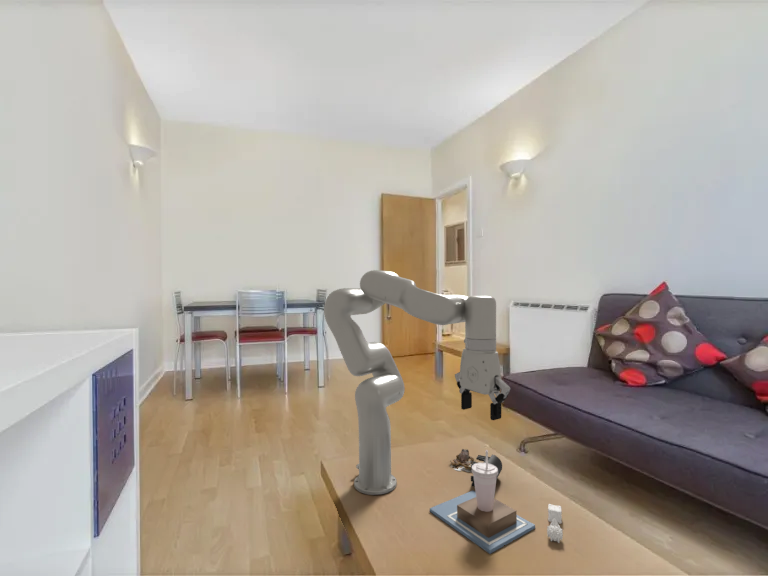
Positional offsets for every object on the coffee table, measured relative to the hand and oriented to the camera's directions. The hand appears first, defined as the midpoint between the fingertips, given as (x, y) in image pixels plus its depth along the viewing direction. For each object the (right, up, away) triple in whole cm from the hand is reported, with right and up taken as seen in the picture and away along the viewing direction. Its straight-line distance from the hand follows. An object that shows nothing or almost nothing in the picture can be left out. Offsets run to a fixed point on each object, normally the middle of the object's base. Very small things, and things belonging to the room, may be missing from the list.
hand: (480, 413), depth 97 cm
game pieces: (+17, -27, -4) cm, 32 cm away
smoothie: (+1, -23, -1) cm, 23 cm away
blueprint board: (0, -26, 0) cm, 27 cm away
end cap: (+7, -27, +19) cm, 33 cm away
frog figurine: (+2, -28, +32) cm, 42 cm away
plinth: (+1, -26, -2) cm, 26 cm away
